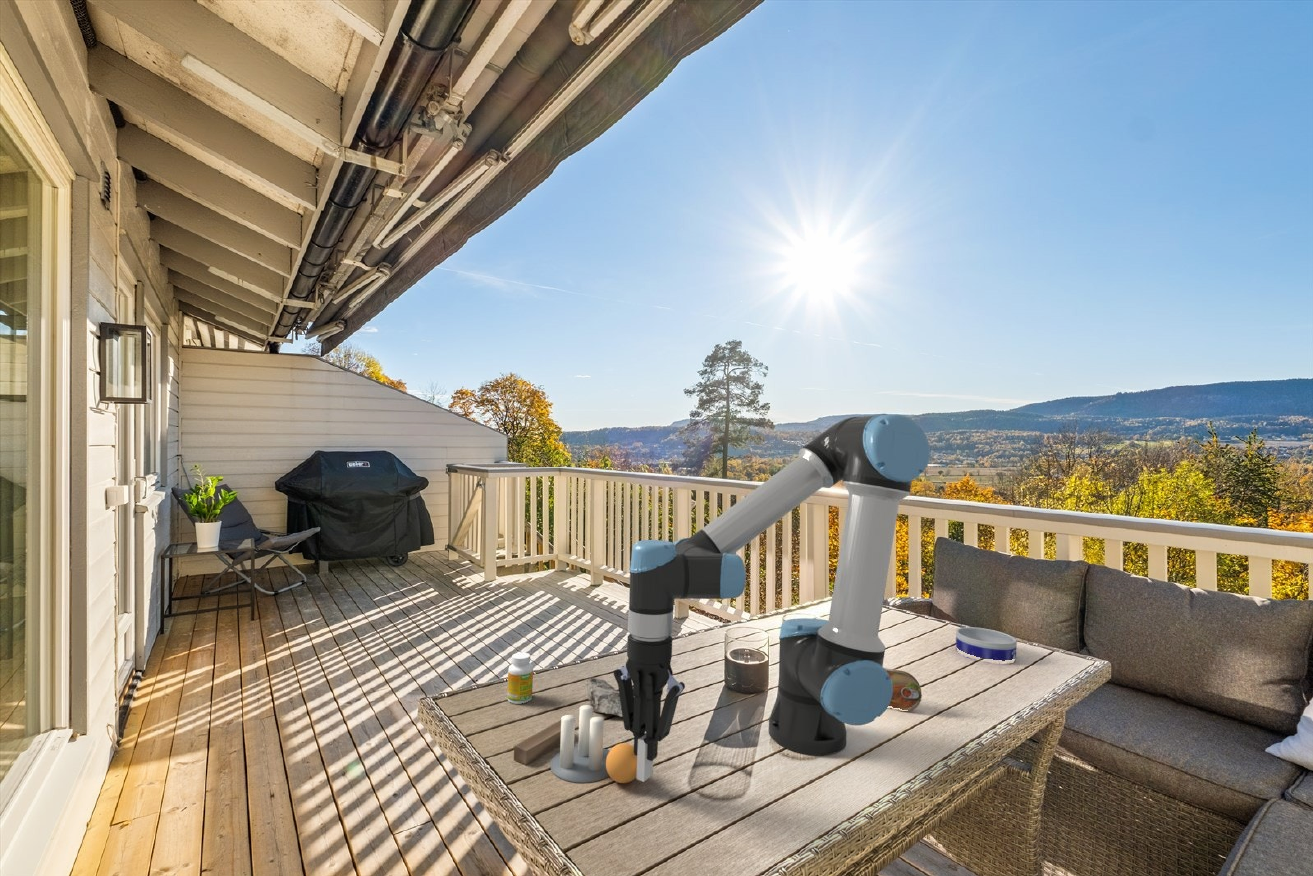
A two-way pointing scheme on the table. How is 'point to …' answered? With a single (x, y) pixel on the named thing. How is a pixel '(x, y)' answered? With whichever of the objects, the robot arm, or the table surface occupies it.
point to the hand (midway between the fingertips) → (644, 776)
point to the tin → (904, 690)
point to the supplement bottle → (520, 679)
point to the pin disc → (579, 768)
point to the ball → (622, 763)
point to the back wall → (538, 744)
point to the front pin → (596, 743)
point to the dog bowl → (986, 643)
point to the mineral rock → (603, 697)
